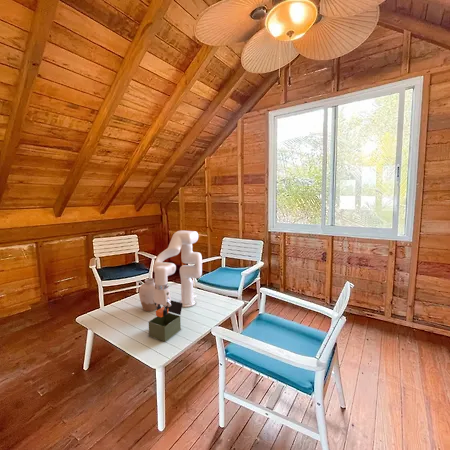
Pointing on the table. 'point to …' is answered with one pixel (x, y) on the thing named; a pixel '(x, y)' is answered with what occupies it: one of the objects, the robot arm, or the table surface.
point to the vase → (147, 294)
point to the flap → (175, 307)
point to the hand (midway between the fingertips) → (162, 313)
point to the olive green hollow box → (164, 326)
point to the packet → (160, 312)
